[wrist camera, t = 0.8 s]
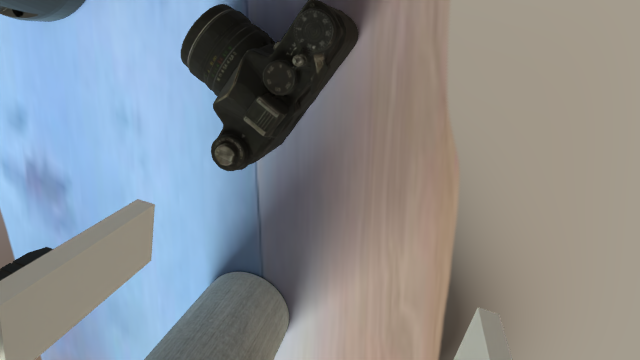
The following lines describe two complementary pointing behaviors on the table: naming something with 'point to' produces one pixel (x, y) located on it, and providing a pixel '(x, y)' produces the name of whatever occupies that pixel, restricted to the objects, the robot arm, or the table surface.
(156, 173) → the table surface
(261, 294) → the vase
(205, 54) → the camera
